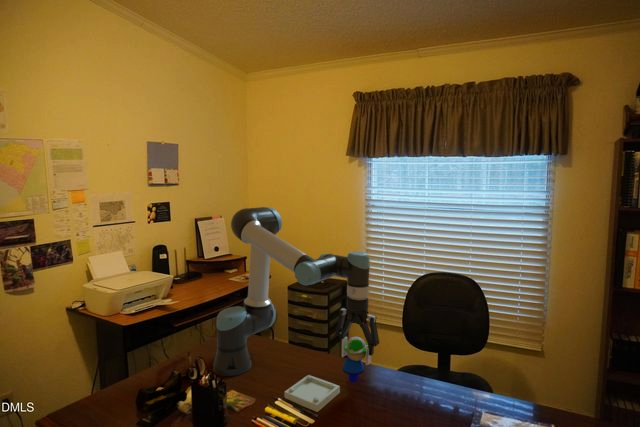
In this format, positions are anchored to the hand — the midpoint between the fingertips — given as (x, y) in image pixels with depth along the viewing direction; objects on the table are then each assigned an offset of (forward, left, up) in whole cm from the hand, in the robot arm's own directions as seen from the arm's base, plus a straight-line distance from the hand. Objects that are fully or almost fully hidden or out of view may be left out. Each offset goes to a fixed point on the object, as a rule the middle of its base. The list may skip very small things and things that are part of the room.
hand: (356, 359), depth 128 cm
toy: (0, 0, -7) cm, 7 cm away
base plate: (-12, -9, -13) cm, 20 cm away
